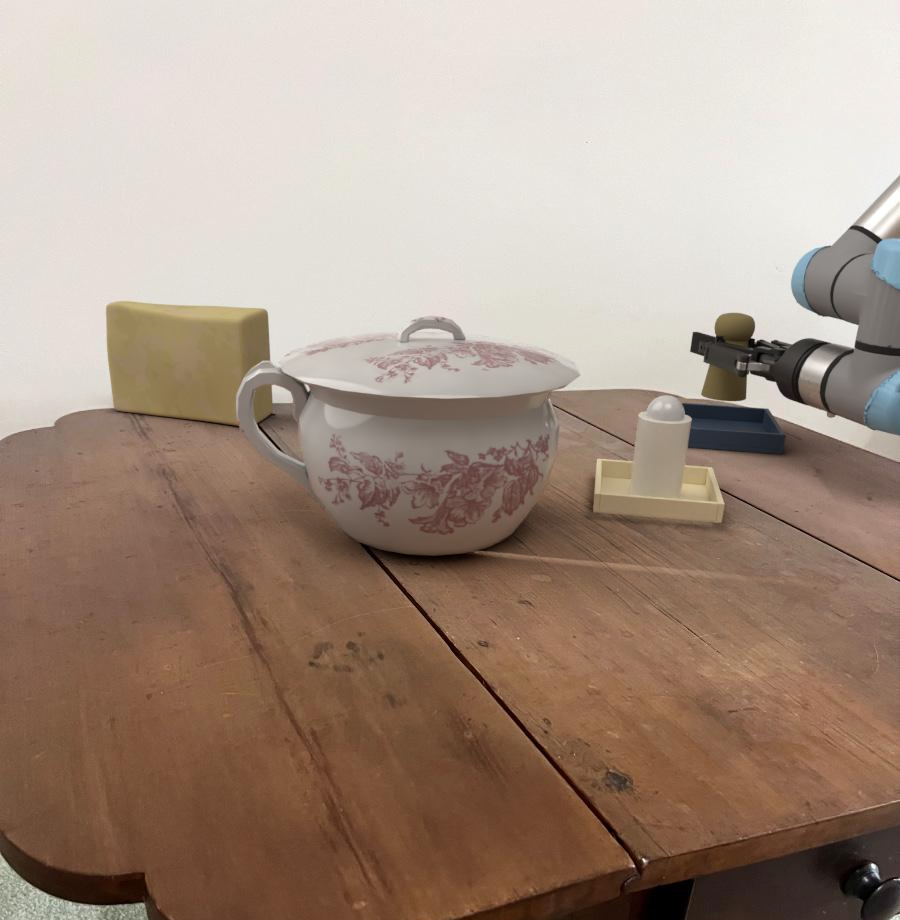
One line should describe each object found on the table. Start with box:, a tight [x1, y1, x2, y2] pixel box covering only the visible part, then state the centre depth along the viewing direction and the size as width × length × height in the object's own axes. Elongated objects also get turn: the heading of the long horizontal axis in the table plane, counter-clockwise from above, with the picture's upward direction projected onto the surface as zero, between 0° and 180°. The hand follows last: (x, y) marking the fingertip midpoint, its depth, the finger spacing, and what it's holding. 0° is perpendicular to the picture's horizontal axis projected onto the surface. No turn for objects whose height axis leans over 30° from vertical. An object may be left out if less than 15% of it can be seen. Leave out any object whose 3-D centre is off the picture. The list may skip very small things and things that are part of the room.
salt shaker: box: [629, 394, 692, 499], centre depth 99 cm, size 6×6×11 cm
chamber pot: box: [236, 315, 581, 557], centre depth 87 cm, size 28×28×21 cm
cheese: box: [105, 300, 274, 427], centre depth 126 cm, size 22×10×15 cm, turn 80°
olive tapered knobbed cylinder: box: [700, 312, 756, 402], centre depth 124 cm, size 6×6×11 cm
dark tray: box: [681, 402, 787, 455], centre depth 128 cm, size 15×15×3 cm
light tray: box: [592, 458, 726, 524], centre depth 101 cm, size 13×13×3 cm
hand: (708, 341), depth 128 cm, fingers closed on olive tapered knobbed cylinder, 4 cm apart
